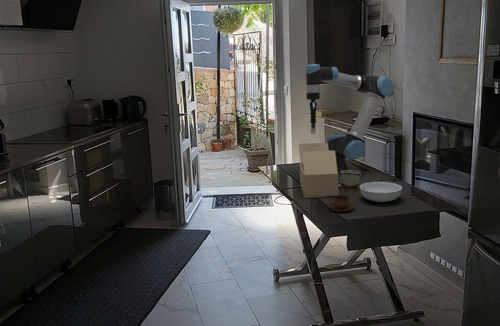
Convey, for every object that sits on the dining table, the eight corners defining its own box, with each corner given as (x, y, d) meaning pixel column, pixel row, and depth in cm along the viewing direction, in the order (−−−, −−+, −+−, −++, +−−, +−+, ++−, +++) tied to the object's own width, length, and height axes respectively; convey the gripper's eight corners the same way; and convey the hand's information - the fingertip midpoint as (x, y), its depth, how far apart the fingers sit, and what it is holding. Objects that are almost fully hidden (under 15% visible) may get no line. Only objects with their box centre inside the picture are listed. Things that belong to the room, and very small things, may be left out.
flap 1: (330, 162, 277) (330, 162, 277) (327, 142, 284) (327, 143, 285) (300, 163, 277) (300, 163, 278) (298, 143, 285) (298, 144, 285)
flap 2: (334, 151, 256) (334, 150, 255) (337, 174, 249) (337, 173, 249) (302, 152, 256) (302, 151, 256) (304, 175, 250) (304, 175, 249)
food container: (363, 187, 266) (363, 170, 263) (360, 190, 260) (360, 172, 258) (341, 186, 271) (341, 168, 268) (338, 189, 265) (338, 171, 263)
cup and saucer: (331, 214, 226) (331, 201, 225) (327, 206, 238) (327, 194, 237) (356, 212, 226) (356, 200, 225) (351, 205, 238) (351, 193, 237)
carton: (331, 182, 279) (330, 162, 277) (338, 196, 252) (338, 174, 249) (300, 183, 280) (299, 163, 277) (304, 197, 253) (303, 175, 250)
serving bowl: (410, 200, 240) (411, 187, 238) (380, 209, 230) (380, 195, 228) (380, 191, 257) (380, 179, 256) (350, 198, 248) (350, 185, 246)
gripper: (305, 91, 276) (306, 131, 282) (306, 93, 264) (307, 135, 269) (318, 91, 276) (319, 131, 281) (320, 92, 263) (320, 135, 268)
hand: (313, 133), depth 275 cm, fingers closed
